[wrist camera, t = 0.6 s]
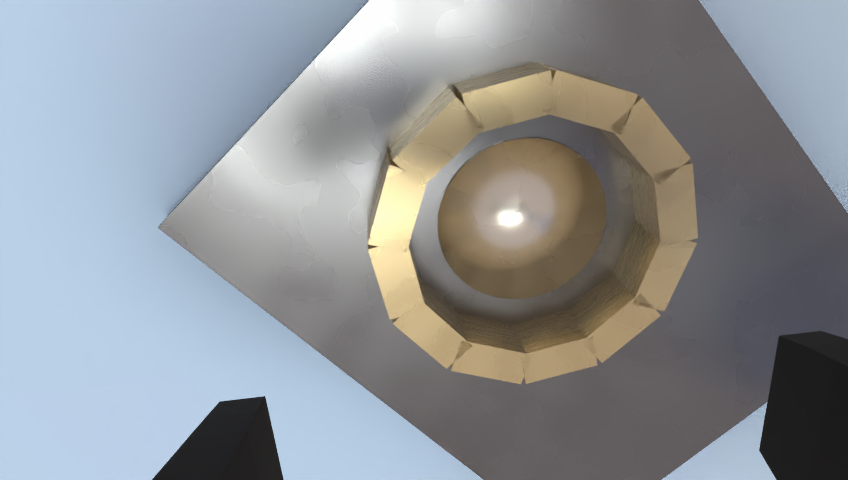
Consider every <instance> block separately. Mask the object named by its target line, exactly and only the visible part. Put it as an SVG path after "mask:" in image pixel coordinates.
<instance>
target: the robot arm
mask: <svg viewBox="0 0 848 480" xmlns="http://www.w3.org/2000/svg"><path fill="white" fill-rule="evenodd" d="M759 451H760V452H761V454H762V456H763V457H764V459H765V461H766V463H767V464H768V466H769V468H770V469H771V471H772V473H773V474H774V476H775V478H776V479H777V480H848V339H846V338H843V337H840V336H836V335H833V334H830V333H826V332H823V331H815V332H806V333H798V334H789V335H781V336H779V338H778V344H777V349H776V355H775V361H774V367H773V373H772V379H771V385H770V391H769V396H768V402H767V408H766V414H765V420H764V426H763V432H762V437H761V443H760V449H759ZM152 480H283V476H282V471H281V467H280V462H279V457H278V453H277V448H276V444H275V439H274V435H273V430H272V426H271V421H270V416H269V412H268V407H267V403H266V398H265V396H264V397H256V398H247V399H239V400H230V401H222V402H219V403H218V404H217V405H216V407H215V408H214V409H213V410H212V411H211V412H210V413H209V414H208V416H207V417H206V418H205V419H204V420H203V421H202V422H201V424H200V425H199V426H198V427H197V428H196V429H195V430H194V432H193V433H192V434H191V435H190V436H189V437H188V439H187V440H186V441H185V442H184V443H183V444H182V446H181V447H180V448H179V449H178V450H177V451H176V453H175V454H174V455H173V456H172V457H171V458H170V460H169V461H168V462H167V463H166V464H165V465H164V466H163V468H162V469H161V470H160V471H159V472H158V473H157V475H156V476H155V477H154V478H153V479H152Z"/></svg>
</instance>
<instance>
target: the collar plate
mask: <svg viewBox="0 0 848 480" xmlns="http://www.w3.org/2000/svg"><path fill="white" fill-rule="evenodd" d="M158 228H159V229H160V230H162V231H163V232H164V233H165V234H167V235H168V236H169V237H171V238H172V239H173V240H174V241H176V242H177V243H178V244H180V245H181V246H182V247H184V248H185V249H186V250H187V251H189V252H190V253H191V254H193V255H194V256H195V257H196V258H198V259H199V260H200V261H202V262H203V263H204V264H206V265H207V266H208V267H209V268H211V269H212V270H213V271H215V272H216V273H217V274H218V275H220V276H221V277H222V278H224V279H225V280H226V281H228V282H229V283H230V284H231V285H233V286H234V287H235V288H237V289H238V290H239V291H240V292H242V293H243V294H244V295H246V296H247V297H248V298H250V299H251V300H252V301H253V302H255V303H256V304H257V305H259V306H260V307H261V308H262V309H264V310H265V311H266V312H268V313H269V314H270V315H271V316H273V317H274V318H275V319H277V320H278V321H279V322H281V323H282V324H283V325H284V326H286V327H287V328H288V329H290V330H291V331H292V332H293V333H295V334H296V335H297V336H299V337H300V338H301V339H303V340H304V341H305V342H306V343H308V344H309V345H310V346H312V347H313V348H314V349H315V350H317V351H318V352H319V353H321V354H322V355H323V356H325V357H326V358H327V359H328V360H330V361H331V362H332V363H334V364H335V365H336V366H337V367H339V368H340V369H341V370H343V371H344V372H345V373H347V374H348V375H349V376H350V377H352V378H353V379H354V380H356V381H357V382H358V383H359V384H361V385H362V386H363V387H365V388H366V389H367V390H368V391H370V392H371V393H372V394H374V395H375V396H376V397H378V398H379V399H380V400H381V401H383V402H384V403H385V404H387V405H388V406H389V407H390V408H392V409H393V410H394V411H396V412H397V413H398V414H400V415H401V416H402V417H403V418H405V419H406V420H407V421H409V422H410V423H411V424H412V425H414V426H415V427H416V428H418V429H419V430H420V431H422V432H423V433H424V434H425V435H427V436H428V437H429V438H431V439H432V440H433V441H434V442H436V443H437V444H438V445H440V446H441V447H442V448H444V449H445V450H446V451H447V452H449V453H450V454H451V455H453V456H454V457H455V458H456V459H458V460H459V461H460V462H462V463H463V464H464V465H465V466H467V467H468V468H469V469H471V470H472V471H473V472H475V473H476V474H477V475H478V476H480V477H481V478H482V479H484V480H661V479H663V478H664V477H666V476H667V475H668V474H670V473H671V472H672V471H674V470H675V469H676V468H678V467H679V466H681V465H682V464H683V463H685V462H686V461H687V460H689V459H690V458H691V457H693V456H694V455H696V454H697V453H698V452H700V451H701V450H702V449H704V448H705V447H706V446H708V445H709V444H710V443H712V442H713V441H715V440H716V439H717V438H719V437H720V436H721V435H723V434H724V433H725V432H727V431H728V430H730V429H731V428H732V427H734V426H735V425H736V424H738V423H739V422H740V421H742V420H743V419H744V418H746V417H747V416H749V415H750V414H751V413H753V412H754V411H755V410H757V409H758V408H759V407H761V406H762V405H764V404H765V403H766V402H768V396H769V391H770V385H771V379H772V373H773V367H774V361H775V355H776V349H777V344H778V338H779V336H781V335H789V334H798V333H806V332H815V331H823V332H826V333H830V334H833V335H836V336H840V337H843V338H846V339H848V213H847V212H846V210H845V209H844V208H843V206H842V205H841V203H840V202H839V200H838V199H837V198H836V196H835V195H834V193H833V192H832V190H831V189H830V188H829V186H828V185H827V183H826V182H825V180H824V179H823V178H822V176H821V175H820V173H819V172H818V170H817V169H816V168H815V166H814V165H813V163H812V162H811V160H810V159H809V158H808V156H807V155H806V153H805V152H804V150H803V149H802V148H801V146H800V145H799V143H798V142H797V140H796V139H795V138H794V136H793V135H792V133H791V132H790V130H789V129H788V128H787V126H786V125H785V123H784V122H783V120H782V119H781V118H780V116H779V115H778V113H777V112H776V110H775V109H774V108H773V106H772V105H771V103H770V102H769V100H768V99H767V98H766V96H765V95H764V93H763V92H762V90H761V89H760V88H759V86H758V85H757V83H756V82H755V80H754V79H753V78H752V76H751V75H750V73H749V72H748V70H747V69H746V68H745V66H744V65H743V63H742V62H741V60H740V59H739V58H738V56H737V55H736V53H735V52H734V50H733V49H732V48H731V46H730V45H729V43H728V42H727V40H726V39H725V38H724V36H723V35H722V33H721V32H720V30H719V29H718V28H717V26H716V25H715V23H714V22H713V20H712V19H711V18H710V16H709V15H708V13H707V12H706V10H705V9H704V8H703V6H702V5H701V3H700V2H699V0H369V1H368V2H367V3H366V4H365V5H364V6H363V7H362V8H361V10H360V11H359V12H358V13H357V14H356V15H355V16H354V17H353V18H352V19H351V20H350V21H349V22H348V23H347V25H346V26H345V27H344V28H343V29H342V30H341V31H340V32H339V33H338V34H337V35H336V36H335V37H334V38H333V40H332V41H331V42H330V43H329V44H328V45H327V46H326V47H325V48H324V49H323V50H322V51H321V52H320V53H319V55H318V56H317V57H316V58H315V59H314V60H313V61H312V62H311V63H310V64H309V65H308V66H307V67H306V68H305V70H304V71H303V72H302V73H301V74H300V75H299V76H298V77H297V78H296V79H295V80H294V81H293V82H292V83H291V85H290V86H289V87H288V88H287V89H286V90H285V91H284V92H283V93H282V94H281V95H280V96H279V97H278V98H277V100H276V101H275V102H274V103H273V104H272V105H271V106H270V107H269V108H268V109H267V110H266V111H265V112H264V113H263V115H262V116H261V117H260V118H259V119H258V120H257V121H256V122H255V123H254V124H253V125H252V126H251V127H250V128H249V130H248V131H247V132H246V133H245V134H244V135H243V136H242V137H241V138H240V139H239V140H238V141H237V142H236V143H235V145H234V146H233V147H232V148H231V149H230V150H229V151H228V152H227V153H226V154H225V155H224V156H223V157H222V158H221V160H220V161H219V162H218V163H217V164H216V165H215V166H214V167H213V168H212V169H211V170H210V171H209V172H208V173H207V175H206V176H205V177H204V178H203V179H202V180H201V181H200V182H199V183H198V184H197V185H196V186H195V187H194V189H193V190H192V191H191V192H190V193H189V194H188V195H187V196H186V197H185V198H184V199H183V200H182V201H181V202H180V204H179V205H178V206H177V207H176V208H175V209H174V210H173V211H172V212H171V213H170V214H169V215H168V216H167V217H166V219H165V220H164V221H163V222H162V223H161V224H160V225H159V227H158Z"/></svg>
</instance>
